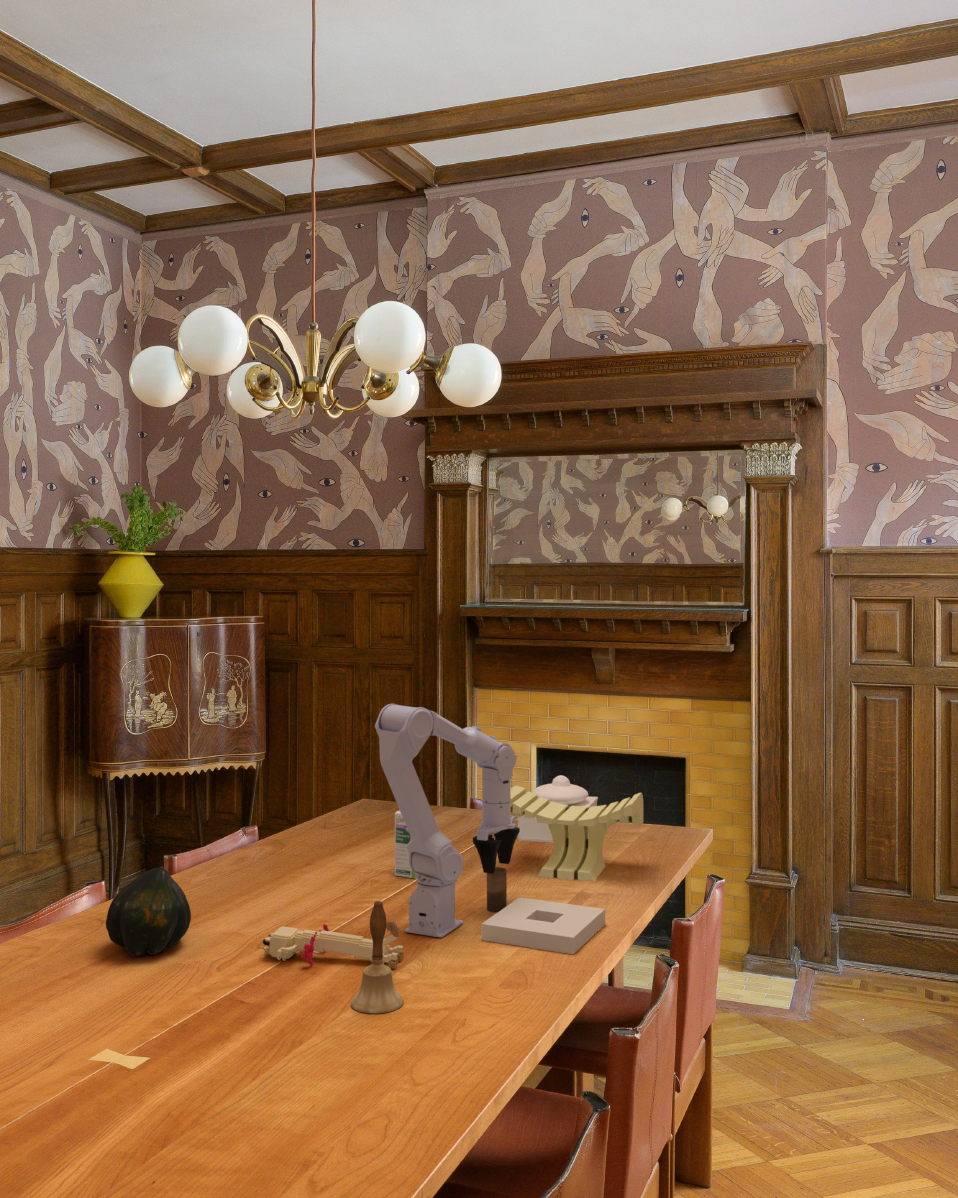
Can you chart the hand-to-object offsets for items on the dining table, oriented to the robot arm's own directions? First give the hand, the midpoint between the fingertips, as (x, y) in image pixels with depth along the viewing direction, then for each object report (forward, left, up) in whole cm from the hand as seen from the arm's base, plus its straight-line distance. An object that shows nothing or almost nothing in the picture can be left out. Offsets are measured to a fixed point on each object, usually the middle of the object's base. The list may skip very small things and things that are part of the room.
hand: (496, 868), depth 211 cm
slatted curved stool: (+34, -4, -9) cm, 35 cm away
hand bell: (-51, -2, -9) cm, 52 cm away
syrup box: (+15, +28, -9) cm, 33 cm away
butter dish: (+64, +11, -9) cm, 66 cm away
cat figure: (-38, +15, -9) cm, 42 cm away
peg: (0, 0, -8) cm, 8 cm away
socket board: (-9, -14, -8) cm, 19 cm away
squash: (-47, +48, -9) cm, 68 cm away
